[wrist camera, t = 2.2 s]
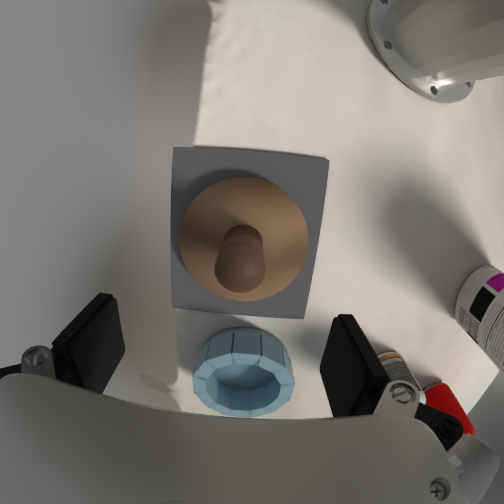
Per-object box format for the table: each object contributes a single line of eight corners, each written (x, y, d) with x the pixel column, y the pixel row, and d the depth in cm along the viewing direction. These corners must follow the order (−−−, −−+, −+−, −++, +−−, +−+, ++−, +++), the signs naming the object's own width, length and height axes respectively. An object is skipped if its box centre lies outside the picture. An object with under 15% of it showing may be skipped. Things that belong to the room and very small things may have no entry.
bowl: (198, 321, 25) (190, 348, 21) (296, 329, 25) (302, 356, 21) (201, 385, 28) (195, 411, 24) (281, 391, 28) (284, 418, 24)
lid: (183, 173, 20) (157, 180, 14) (313, 183, 20) (336, 194, 14) (183, 290, 23) (163, 329, 18) (296, 299, 23) (308, 341, 18)
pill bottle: (349, 377, 27) (372, 446, 18) (382, 343, 26) (419, 409, 16) (378, 388, 28) (404, 448, 19) (410, 357, 27) (445, 415, 17)
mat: (174, 147, 19) (173, 147, 19) (328, 160, 20) (329, 160, 19) (173, 305, 24) (172, 307, 24) (303, 317, 24) (303, 319, 24)
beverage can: (421, 383, 28) (455, 446, 17) (451, 375, 28) (486, 430, 17) (405, 410, 31) (431, 469, 19) (435, 401, 30) (463, 454, 19)
